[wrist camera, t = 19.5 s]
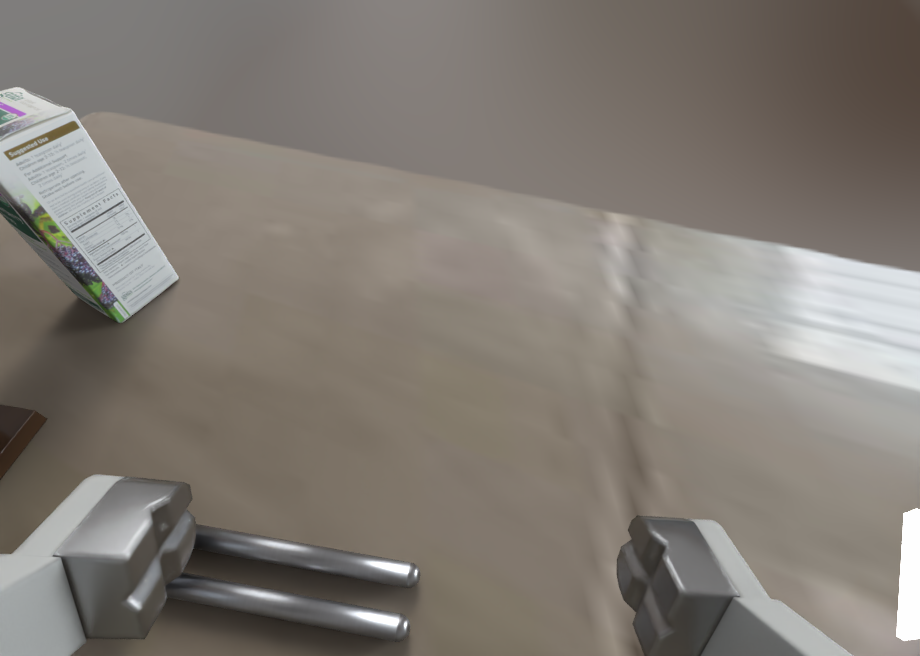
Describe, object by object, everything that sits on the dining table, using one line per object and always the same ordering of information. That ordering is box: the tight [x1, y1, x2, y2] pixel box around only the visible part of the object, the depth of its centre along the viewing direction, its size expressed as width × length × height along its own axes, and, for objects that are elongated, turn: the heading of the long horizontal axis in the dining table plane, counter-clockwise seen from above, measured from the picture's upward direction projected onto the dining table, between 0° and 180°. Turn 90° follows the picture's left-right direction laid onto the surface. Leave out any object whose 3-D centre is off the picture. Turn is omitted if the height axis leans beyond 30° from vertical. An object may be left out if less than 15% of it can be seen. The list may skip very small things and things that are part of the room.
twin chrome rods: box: [165, 524, 420, 642], centre depth 24 cm, size 18×4×3 cm, turn 81°
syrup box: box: [0, 87, 179, 323], centre depth 33 cm, size 6×6×14 cm
